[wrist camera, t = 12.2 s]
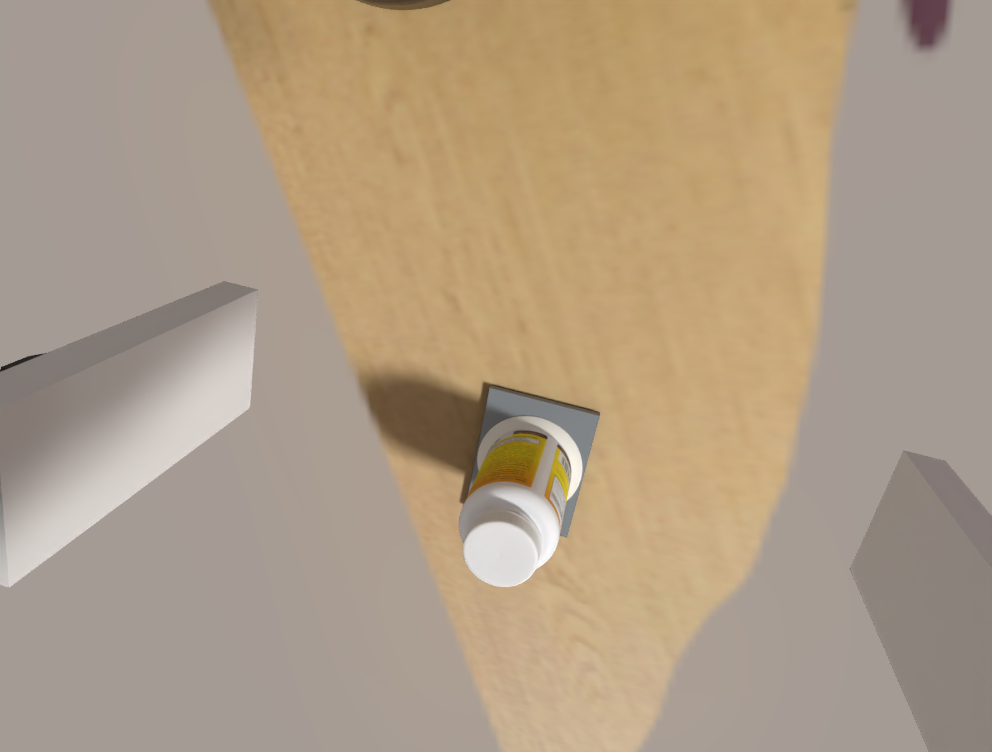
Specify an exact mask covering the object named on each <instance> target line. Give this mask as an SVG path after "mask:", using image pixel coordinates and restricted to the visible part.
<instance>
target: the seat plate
mask: <svg viewBox="0 0 992 752" xmlns="http://www.w3.org/2000/svg"><path fill="white" fill-rule="evenodd" d="M599 416H600V413H599V412H595V411H591V410H587V409H583V408H579V407H575V406H571V405H567V404H563V403H560V402H556V401H552V400H548V399H544V398H540V397H536V396H532V395H528V394H524V393H520V392H516V391H513V390H509V389H505V388H501V387H497V386H493V385H491V386H490V389H489V394H488V399H487V404H486V409H485V414H484V418H483V423H482V428H481V433H480V438H479V443H478V448H477V453H476V458H475V463H474V468H473V473H472V478H471V483H470V487H469V491H470V489H471V487H472V485H473V483H474V480H475V478H476V476H477V474H478V472H479V470H480V467H481V465H482V463H483V461H484V459H485V457H486V454H487V452H488V450H489V449H490V447H491V445H492V444H493V443H494V442H495V441H496V440H497V439H498V438H499V437H500V436H502V435H503V434H505V433H507V432H510V431H512V430H516V429H534V430H538V431H541V432H544V433H546V434H548V435H550V436H552V437H553V438H554V439H556V440H557V441H558V442H559V443H560V444H561V445H562V446H563V448H564V449H565V451H566V452H567V455H568V457H569V459H570V463H571V481H570V486H569V491H568V496H567V501H566V506H565V511H564V516H563V521H562V526H561V531H560V536H564V537H567V535H568V531H569V528H570V524H571V520H572V517H573V513H574V509H575V505H576V502H577V498H578V494H579V491H580V487H581V483H582V479H583V476H584V472H585V468H586V465H587V461H588V457H589V453H590V450H591V446H592V442H593V439H594V435H595V431H596V427H597V424H598V420H599ZM468 494H469V492H468Z"/></svg>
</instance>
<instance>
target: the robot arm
mask: <svg viewBox="0 0 992 752" xmlns="http://www.w3.org/2000/svg"><path fill="white" fill-rule="evenodd" d="M357 1H359V2H362V3H365V4H368V5H371V6H375V7H379V8H385V9H393V10H413V9H422V8H427V7H431V6H435V5H438V4H442V3H444V2H447V1H449V0H357ZM257 296H258V289H253V288H249V287H245V286H241V285H237V284H233V283H229V282H225V281H223V282H221V283H219V284H216V285H214V286H211V287H209V288H206V289H204V290H201V291H199V292H196V293H194V294H191V295H189V296H186V297H184V298H182V299H179V300H177V301H174V302H172V303H169V304H167V305H164V306H162V307H159V308H157V309H154V310H152V311H149V312H147V313H145V314H142V315H140V316H137V317H135V318H132V319H130V320H127V321H125V322H122V323H120V324H117V325H115V326H112V327H110V328H108V329H105V330H103V331H100V332H98V333H95V334H93V335H90V336H88V337H85V338H83V339H80V340H78V341H76V342H73V343H70V344H68V345H66V346H63V347H61V348H58V349H56V350H53V351H51V352H48V353H44V354H39V355H34V356H28V357H26V358H23V359H21V360H18V361H15V362H13V363H10V364H8V365H5V366H3V367H1V370H0V585H3V586H6V587H10V586H12V585H13V584H14V583H15V582H17V581H18V580H20V579H21V578H22V577H24V576H25V575H26V574H28V573H29V572H30V571H32V570H33V569H34V568H36V567H37V566H39V565H40V564H41V563H43V562H44V561H45V560H46V559H48V558H49V557H51V556H52V555H53V554H55V553H56V552H57V551H59V550H60V549H61V548H63V547H64V546H65V545H67V544H68V543H69V542H70V541H72V540H73V539H74V538H76V537H77V536H79V535H80V534H81V533H83V532H84V531H85V530H87V529H88V528H89V527H91V526H92V525H93V524H95V523H96V522H97V521H99V520H100V519H101V518H103V517H104V516H105V515H107V514H108V513H109V512H111V511H112V510H114V509H115V508H116V507H117V506H119V505H120V504H122V503H123V502H124V501H126V500H127V499H128V498H129V497H131V496H132V495H134V494H135V493H136V492H137V491H139V490H140V489H142V488H143V487H144V486H146V485H147V484H148V483H150V482H151V481H152V480H154V479H155V478H156V477H158V476H159V475H160V474H162V473H163V472H164V471H165V470H167V469H168V468H170V467H171V466H172V465H174V464H175V463H176V462H178V461H179V460H180V459H182V458H183V457H184V456H186V455H187V454H188V453H190V452H191V451H192V450H194V449H195V448H196V447H198V446H199V445H201V444H202V443H203V442H205V441H206V440H207V439H208V438H210V437H211V436H213V435H214V434H215V433H217V432H218V431H219V430H221V429H222V428H223V427H225V426H226V425H227V424H229V423H230V422H231V421H233V420H234V419H235V418H237V417H238V416H239V415H241V414H242V413H243V412H245V411H246V410H247V409H249V408H250V399H251V384H252V370H253V355H254V340H255V326H256V311H257ZM850 571H851V573H852V575H853V577H854V580H855V582H856V584H857V587H858V589H859V591H860V594H861V596H862V598H863V601H864V603H865V605H866V608H867V610H868V612H869V615H870V617H871V619H872V621H873V624H874V626H875V628H876V631H877V633H878V635H879V638H880V640H881V642H882V644H883V647H884V649H885V651H886V654H887V656H888V658H889V661H890V663H891V665H892V668H893V670H894V672H895V674H896V677H897V679H898V681H899V684H900V686H901V688H902V691H903V693H904V695H905V698H906V700H907V702H908V704H909V707H910V709H911V711H912V714H913V716H914V718H915V720H916V723H917V725H918V728H919V730H920V732H921V735H922V737H923V739H924V741H925V744H926V746H927V748H928V751H929V752H992V516H991V515H990V513H989V512H988V511H987V510H986V509H985V507H984V506H983V505H982V504H981V503H980V501H979V500H978V499H977V498H976V497H975V496H974V494H973V493H972V492H971V491H970V489H969V488H968V487H967V486H966V485H965V484H964V482H963V481H962V480H961V479H960V478H959V476H958V475H957V474H956V473H955V472H954V470H953V469H952V468H951V467H950V466H949V464H948V463H947V462H946V461H944V460H940V459H936V458H932V457H928V456H924V455H920V454H916V453H912V452H908V451H903V453H902V455H901V457H900V459H899V462H898V464H897V466H896V468H895V470H894V473H893V475H892V477H891V480H890V482H889V484H888V486H887V488H886V490H885V493H884V495H883V497H882V499H881V501H880V504H879V506H878V508H877V510H876V512H875V515H874V517H873V519H872V522H871V523H870V526H869V528H868V530H867V532H866V535H865V537H864V539H863V541H862V544H861V546H860V548H859V550H858V552H857V554H856V557H855V559H854V561H853V564H852V565H851V568H850Z"/></svg>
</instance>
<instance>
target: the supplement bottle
mask: <svg viewBox="0 0 992 752" xmlns="http://www.w3.org/2000/svg"><path fill="white" fill-rule="evenodd" d="M570 481H571V463H570V459H569V457H568V455H567V452H566V451H565V449H564V448H563V446H562V445H561V444H560V443H559V442H558V441H557V440H556V439H554V438H553V437H552V436H550V435H548V434H546V433H544V432H541V431H538V430H534V429H516V430H512V431H510V432H507V433H505V434H503V435H502V436H500V437H499V438H498V439H497V440H496V441H495V442H494V443H493V444H492V445H491V447H490V449H489V450H488V452H487V454H486V457H485V459H484V461H483V463H482V465H481V467H480V470H479V472H478V474H477V476H476V478H475V480H474V483H473V485H472V487H471V489H470V491H469V494H468V496H467V498H466V500H465V502H464V505H463V507H462V510H461V513H460V517H459V532H460V536H461V539H462V542H463V557H464V560H465V562H466V564H467V566H468V568H469V569H470V571H471V572H472V573H473V574H474V575H475V576H476V577H478V578H479V579H480V580H482V581H484V582H486V583H488V584H490V585H494V586H499V587H511V586H515V585H518V584H521V583H523V582H524V581H526V580H527V579H528V578H529V577H530V576H531V575H532V574H533V573H534V571H535V569H537V568H538V567H540V566H542V565H543V564H544V563H545V562H546V561H548V559H549V558H550V557H551V556H552V554H553V553H554V551H555V549H556V547H557V544H558V541H559V536H560V531H561V526H562V521H563V516H564V511H565V506H566V501H567V496H568V491H569V486H570Z"/></svg>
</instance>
